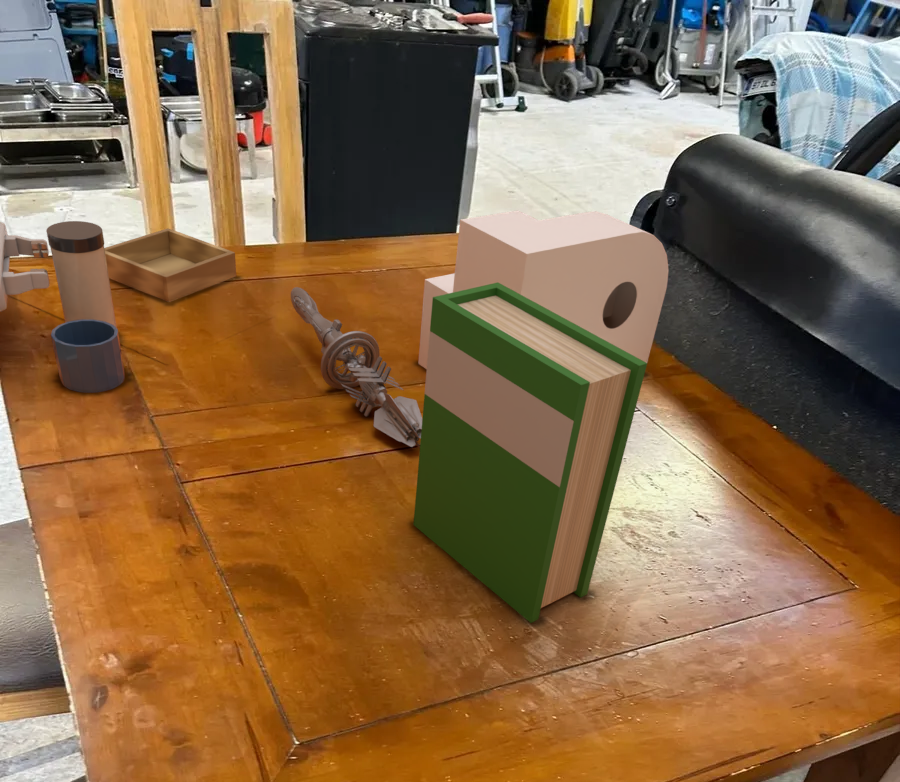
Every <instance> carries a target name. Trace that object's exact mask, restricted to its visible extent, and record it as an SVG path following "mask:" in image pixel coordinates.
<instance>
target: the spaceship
mask: <svg viewBox="0 0 900 782" xmlns="http://www.w3.org/2000/svg"><path fill="white" fill-rule="evenodd" d="M290 300H291V304H292V306H293V309H294V310H295V312H296V313H297V314H298V315H299V317H300V318H301V319H302V320H303V321H304V323H305V324H310V325H311V326H312V328H313V330H314V332H315V334H316V337H317V340H318V341H319V342H320V343H321V349H320V350H321V354H322V357H321V362H320V373H321V376H322V378H323V380H324V382H325V383H326V384H327V385H328V386H330V387H332V388H333V389H337V390H345V391H346V392H347V393H349V396H350V397H351V398H353V399H355V400H356V403H355V407H356V408H359V411H360V413H363V415H364V417H366V418H367V417H369V415H370V414H371V412H372V410H373V409H374V408H375V407H380V408H378V409H377V410H375V411H374V414H373V415H374V417H373V428H375V429H377V430H378V431H380V432H382V433H383V434H386V436H388V437H390V438H392V439H394V440H395V441H397V442H399V443H403V444H405V445H406V446H408V447H410V448H413V447H415V446H416V447H417V448H418V449H420V443H419V440H420V439H421V430H422V418H423V415H422V413H421V410H420V408H419V404H418V401H417V399H414V398H409V397H404V396H401V395H399V396H397V397H395V398H393V397H392V396H391V395H390V394H389V393H388V390H387V387H386V385H387V384H388V385H390V386H393V387H394V388H397V389H399V390H401V391H404V389H403V387H401V386H400V383H398V382H396V379H395V378H394V377H392V376H390V373H391V371H392V368H391V366H387V364H388V363H387V362H386V361H382V360H383V357H382V356H381V355H380V354H381V353H380V347H379V344H378V341H377V340H376V338H375V337H374V336H373V335H371V334H370V333H368V332H366V331H361V330H352V331H347V332H345V333H343V332H342V331H341V329H342V327H343V323H342V322H341V320H339V319H333V321H331V320H329V319H327V318H325V317H324V316H323V315H322V314H321V313H320V311H319V308H318V306H317V303H316V302H315V300H314V298H312V297H311V295H310V294H309V292H307V291H306V290H305V289H304V288H301V287H300V286H299V287H298V286H295V287H293V288H292V289H291V291H290ZM352 347H354V348H353V349H352V350H351V348H352ZM359 347H360V348H362V349H363V351H362V352H361V353H359V354H357V353H358V350H359ZM337 361H338V362H342V364H340V365H339V366H337V367H336V365H337ZM385 368H386V369H385ZM342 370H344V371H343V372H342V373H340V371H342ZM357 387H360V389H361V390H360V391H359V390H357V389H356V388H357ZM354 388H355V389H354Z"/></svg>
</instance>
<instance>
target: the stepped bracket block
mask: <svg viewBox="0 0 900 782" xmlns="http://www.w3.org/2000/svg"><path fill="white" fill-rule="evenodd" d="M457 236H458V238H457V246H456V247H457V248H456V257H455V266H454V272H453V273H450V274H445V275H440V276H435V277H429V278H424V285H423V298H422V299H423V300H422V312H421V323H420V325H421V326H420V338H419V350H418V363H417V364H418V365H419V366H421V367H422V368H424V369H425V370H427V359H428V348H429V336H430V324H431V312H432V301H433V297H436V296H440V295H444V294H449V293H453V292H458V291H462V290H467V289H471V288H475V287H480V286H484V285H489V284H493V283H497V282H498V283H500V284H502V285H504V286H506V287H507V288H509V289H511V290H513V291H515V292H517V293H519V294H520V295H522V296H524V297H526V298H528V299H530V300H531V301H533V302H535V303H537V304H539V305H541V306H543V307H544V308H546V309H548V310H550V311H552V312H554V313H555V314H557V315H559V316H561V317H563V318H565V319H567V320H568V321H570V322H572V323H574V324H576V325H578V326H579V327H581V328H583V329H585V330H587V331H589V332H591V333H592V334H594V335H596V336H598V337H600V338H602V339H603V340H605V341H607V342H609V343H611V344H613V345H615V346H616V347H618V348H620V349H622V350H624V351H626V352H627V353H629V354H631V355H633V356H635V357H637V358H639V359H640V360H642V361H644V362H646V363H647V364H648V362H649V357H650V354H651V349H652V347H653V342H654V339H655V336H656V335H655V334H656V331H657V327H658V323H659V319H660V315H661V312H662V308H663V303H664V300H665V297H666V292H667V288H668V280H669V271H670V270H669V261H668V255H667V252H666V250H665V246H664V245H663V243H662V242H661V240H659V238H657V237H656V236H655V235H654V234H652V233H650V232H649V231H645V230H644V229H640V228H639V227H636V226H634V225H632V224H629V223H628V222H625V221H623V220H621V219H618V218H616V217H614V216H611V215H610V214H606V213H603V212H600V211H597V210H593V211H586V212H579V213H573V214H567V215H562V216H556V217H550V218H544V219H538V218H535V217H533V216H531V215H529V214H527V213H524V212H523V211H520V210H519V209H518V210H511V211H505V212H499V213H493V214H487V215H480V216H474V217H467V218H462V219H459V228H458V235H457Z"/></svg>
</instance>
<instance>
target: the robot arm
mask: <svg viewBox="0 0 900 782" xmlns="http://www.w3.org/2000/svg"><path fill="white" fill-rule="evenodd" d="M49 254H50V250H49V243H48V240H46V239H44V238H36V239H35V238H33V239H31V238H28V237H24V236H21V235H17V234H16V235H15V234H14V235H13V234H9V233H8V230H7V227H6V223H4V222H2V221H0V312H4V311H5V310H7V307H8V296H13V295H21V294H24V293H27V292H29V291H32V290H39V289H42V290H43V289H48V288H49V287H50V277H49V273H48V270H47V269H45V268H30V269H29V271H24V272H18V273H15V272H13V271H10V262H11V257H20V256H31V257H33V259H46V258H48V257H49Z"/></svg>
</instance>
